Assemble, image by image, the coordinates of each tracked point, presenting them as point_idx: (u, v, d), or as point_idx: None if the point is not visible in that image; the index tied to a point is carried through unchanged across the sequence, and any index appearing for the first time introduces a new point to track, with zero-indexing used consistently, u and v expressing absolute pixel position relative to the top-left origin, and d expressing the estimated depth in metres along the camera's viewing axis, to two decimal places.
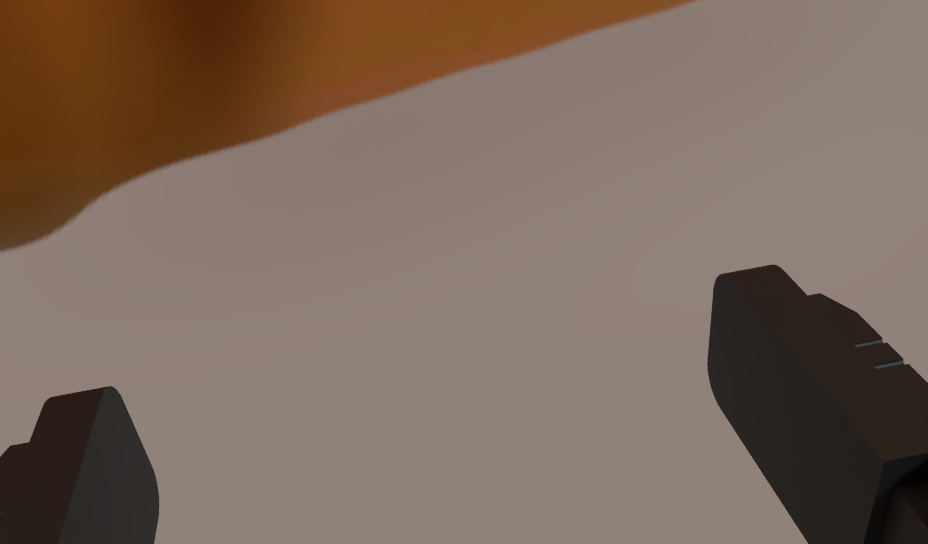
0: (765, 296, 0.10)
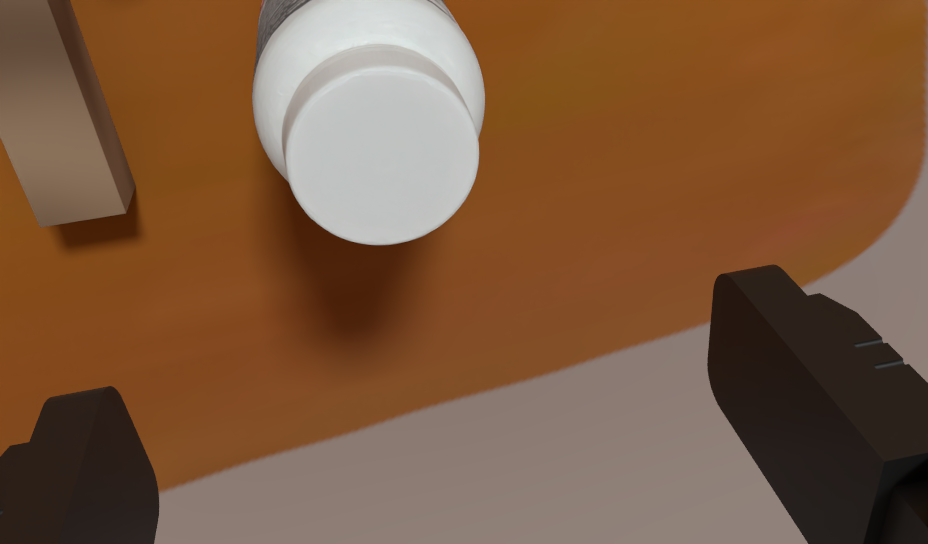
0: (765, 296, 0.10)
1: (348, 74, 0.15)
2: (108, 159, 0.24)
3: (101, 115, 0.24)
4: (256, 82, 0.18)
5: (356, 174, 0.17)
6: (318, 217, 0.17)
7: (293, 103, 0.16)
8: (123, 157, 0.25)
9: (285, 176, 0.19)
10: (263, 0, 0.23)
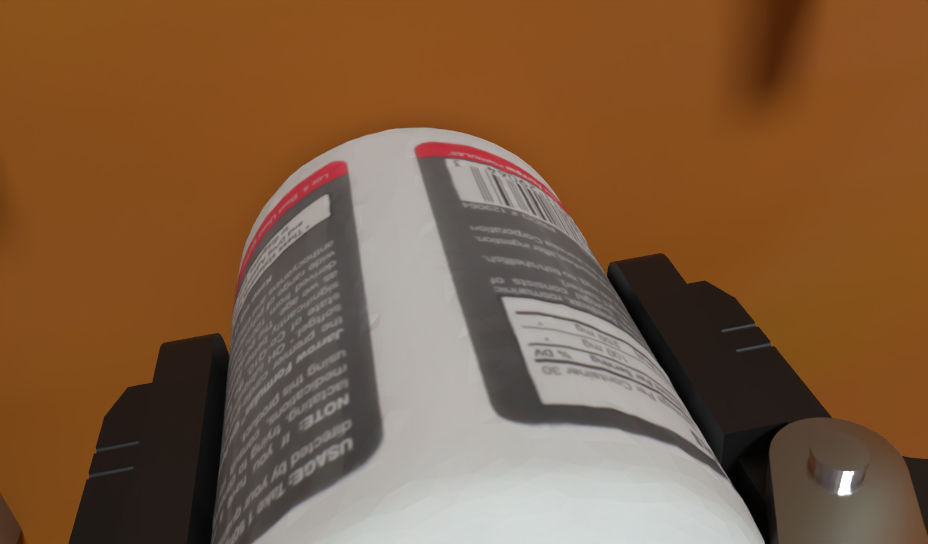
0: (646, 282, 0.11)
1: None
2: None
3: None
4: None
5: None
6: None
7: None
8: None
9: None
10: (243, 267, 0.11)
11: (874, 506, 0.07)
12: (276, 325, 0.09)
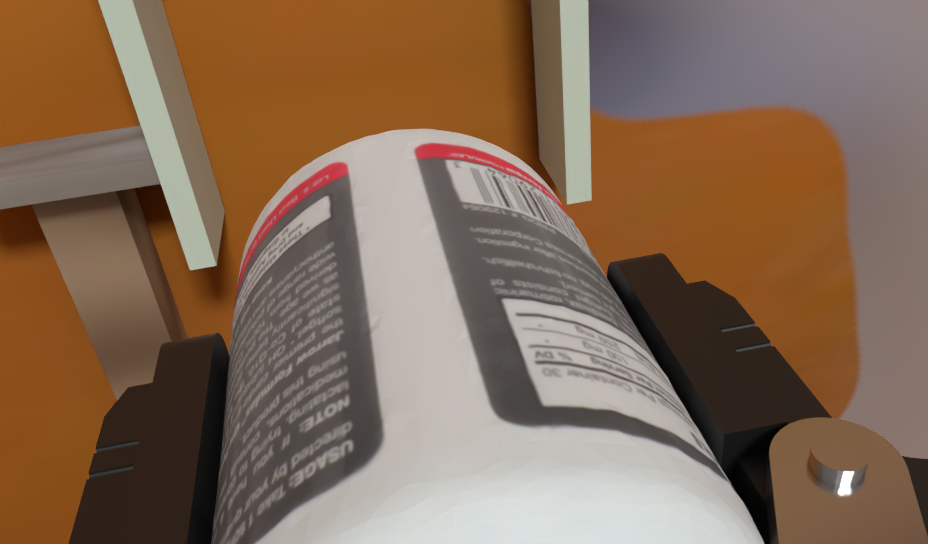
0: (646, 282, 0.11)
1: None
2: None
3: None
4: None
5: None
6: None
7: None
8: None
9: None
10: (243, 269, 0.11)
11: (874, 506, 0.07)
12: (276, 327, 0.09)
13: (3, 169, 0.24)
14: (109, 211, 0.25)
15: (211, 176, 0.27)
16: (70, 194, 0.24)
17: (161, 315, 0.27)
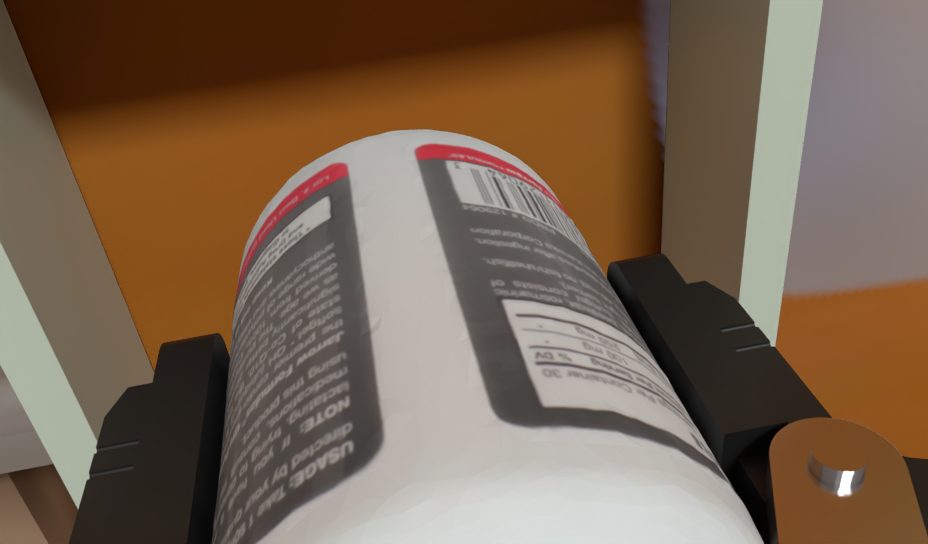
0: (646, 282, 0.11)
1: None
2: None
3: None
4: None
5: None
6: None
7: None
8: None
9: None
10: (244, 269, 0.11)
11: (874, 506, 0.07)
12: (277, 328, 0.09)
13: None
14: None
15: None
16: None
17: None
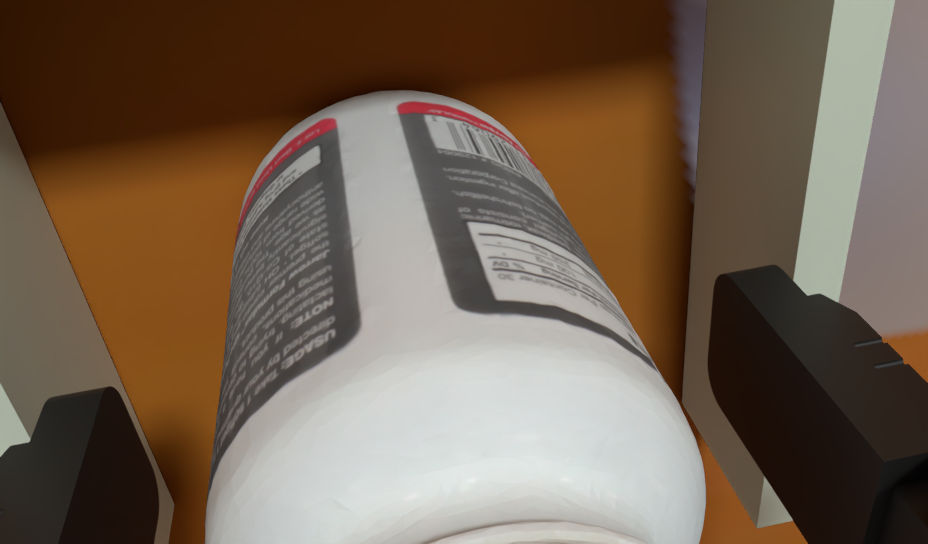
0: (765, 296, 0.10)
1: None
2: None
3: None
4: (211, 528, 0.08)
5: None
6: None
7: None
8: None
9: None
10: (242, 215, 0.12)
11: None
12: (272, 254, 0.10)
13: None
14: None
15: None
16: None
17: None
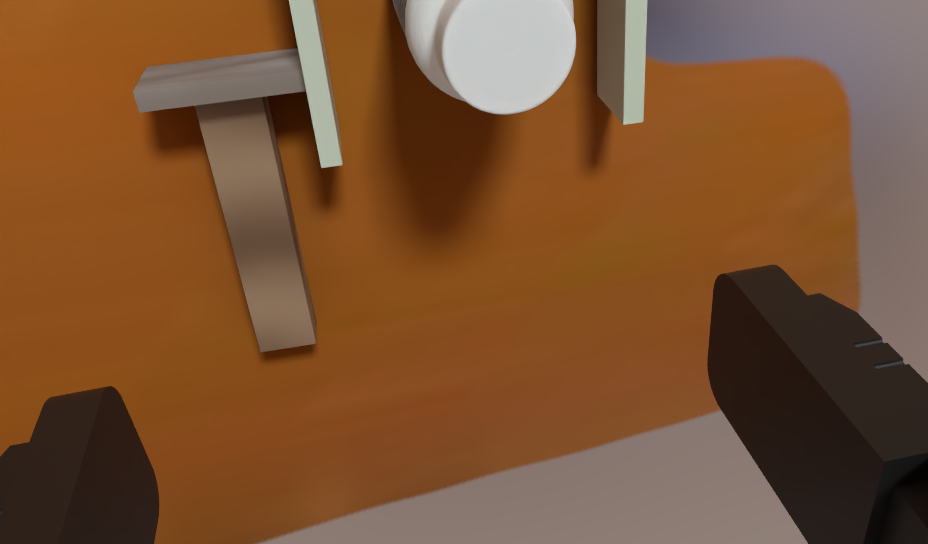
0: (765, 296, 0.10)
1: None
2: (309, 310, 0.36)
3: (305, 280, 0.36)
4: None
5: (489, 57, 0.23)
6: (460, 89, 0.24)
7: (447, 5, 0.23)
8: None
9: (425, 70, 0.26)
10: None
11: None
12: None
13: (178, 77, 0.30)
14: (255, 117, 0.31)
15: (333, 98, 0.33)
16: (232, 97, 0.30)
17: (286, 210, 0.33)
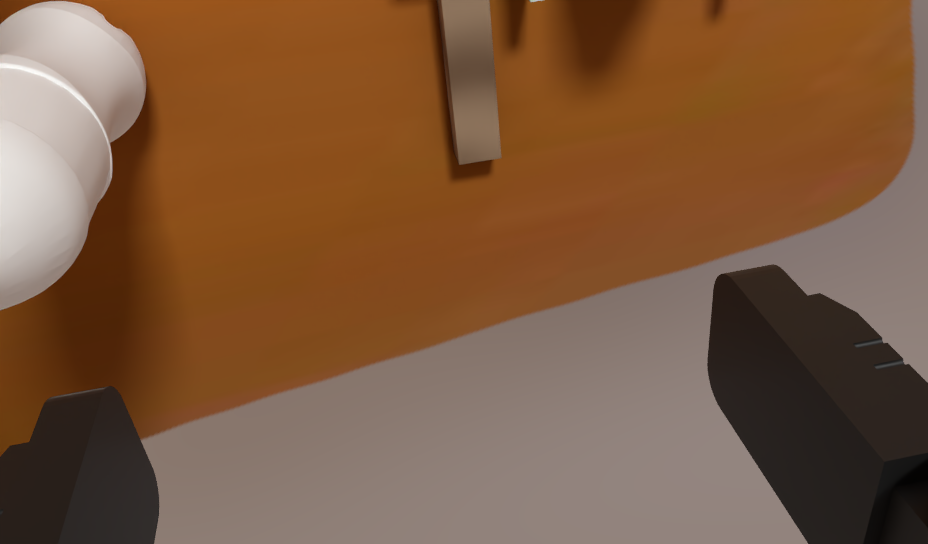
0: (765, 296, 0.10)
1: None
2: None
3: None
4: None
5: None
6: None
7: None
8: None
9: None
10: None
11: None
12: None
13: None
14: None
15: None
16: None
17: None
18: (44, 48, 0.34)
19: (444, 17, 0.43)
